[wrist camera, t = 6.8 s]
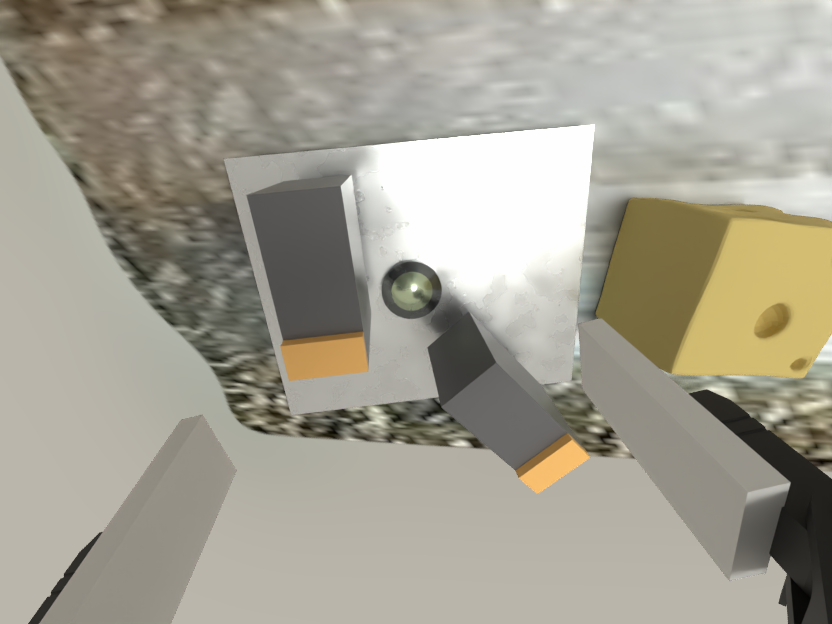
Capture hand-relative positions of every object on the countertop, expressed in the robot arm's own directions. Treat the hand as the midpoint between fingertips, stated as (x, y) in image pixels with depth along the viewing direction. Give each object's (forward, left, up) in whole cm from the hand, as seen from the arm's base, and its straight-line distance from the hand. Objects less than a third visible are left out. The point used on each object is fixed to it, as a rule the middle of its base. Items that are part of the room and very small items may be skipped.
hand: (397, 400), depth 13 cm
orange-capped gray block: (+8, +7, -16) cm, 19 cm away
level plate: (+2, +2, -18) cm, 18 cm away
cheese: (+3, +22, -18) cm, 29 cm away
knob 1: (-2, -3, -16) cm, 17 cm away
